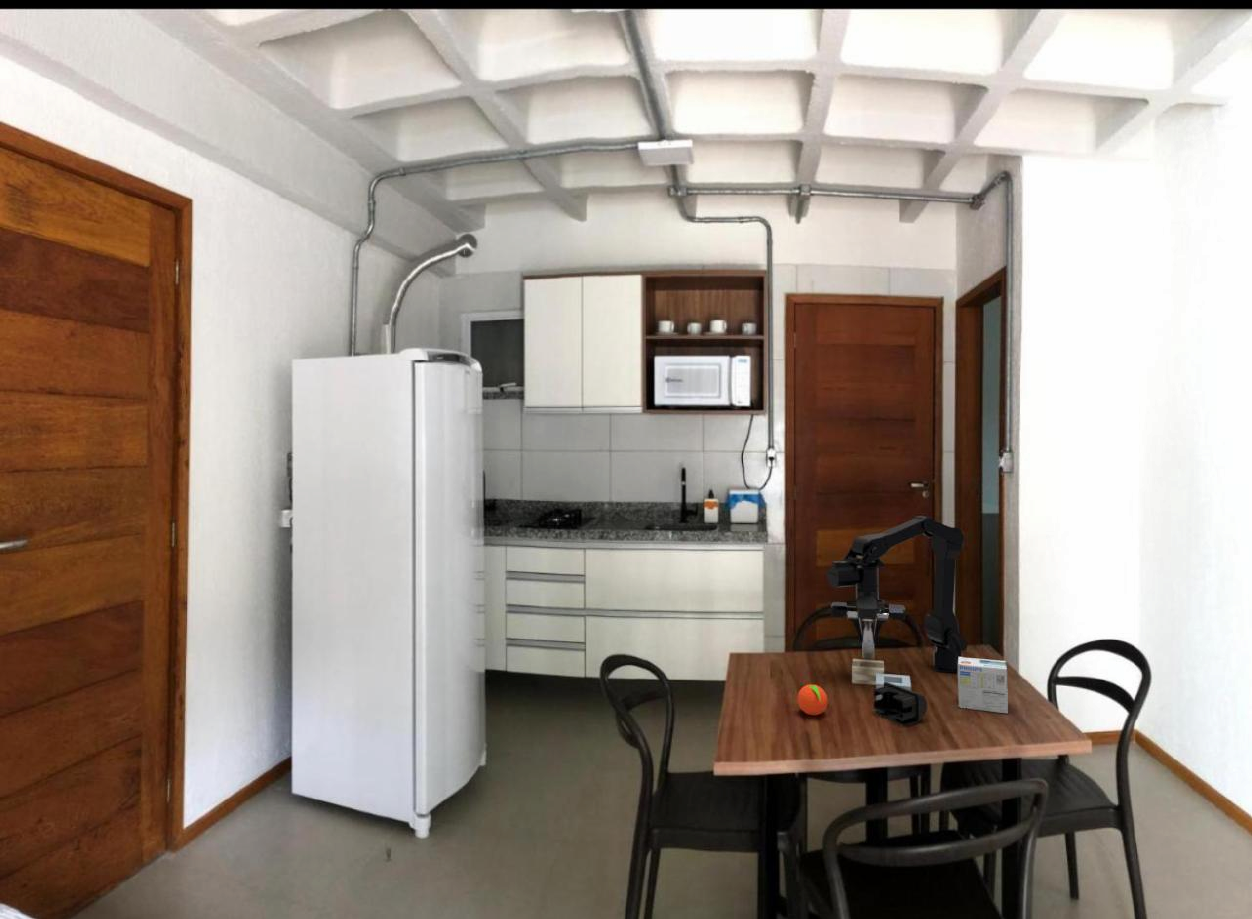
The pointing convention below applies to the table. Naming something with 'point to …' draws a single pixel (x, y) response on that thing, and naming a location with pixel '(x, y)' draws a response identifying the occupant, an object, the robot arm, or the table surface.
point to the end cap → (899, 704)
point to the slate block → (892, 681)
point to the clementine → (812, 699)
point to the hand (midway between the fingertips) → (868, 642)
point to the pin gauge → (868, 638)
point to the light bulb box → (982, 684)
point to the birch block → (866, 671)
